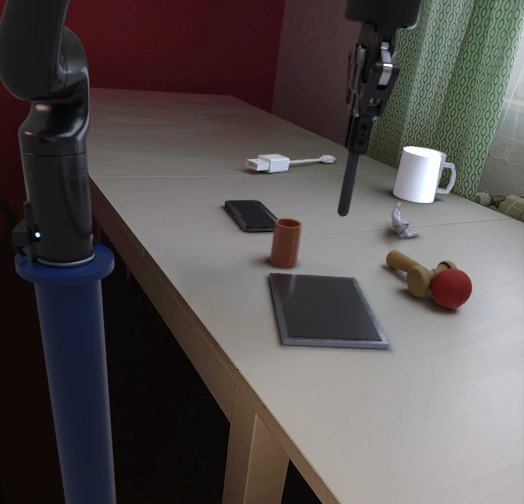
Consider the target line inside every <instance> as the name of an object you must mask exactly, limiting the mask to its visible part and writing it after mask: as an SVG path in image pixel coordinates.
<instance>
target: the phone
mask: <svg viewBox="0 0 524 504" xmlns="http://www.w3.org/2000/svg"><path fill="white" fill-rule="evenodd" d="M224 209H225V210H226V211H227V212H228V213H229V214H230V216H231V217H232V218H233V219H234V220H235V221H236V223H237V224H238V225H239V226H240V227H241V228H242V229H243V230H244V231H245V232H250V233H255V232H256V233H258V232H273V231H274V223H275V220H277V219H279V218H278V217H277V216H276V215H275V214H273V212H271V210H270V209H269V208H267V206H266V205H264V204H263V202H262V201H260V200H258V199H228V200H227V199H226V200H224Z"/></svg>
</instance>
